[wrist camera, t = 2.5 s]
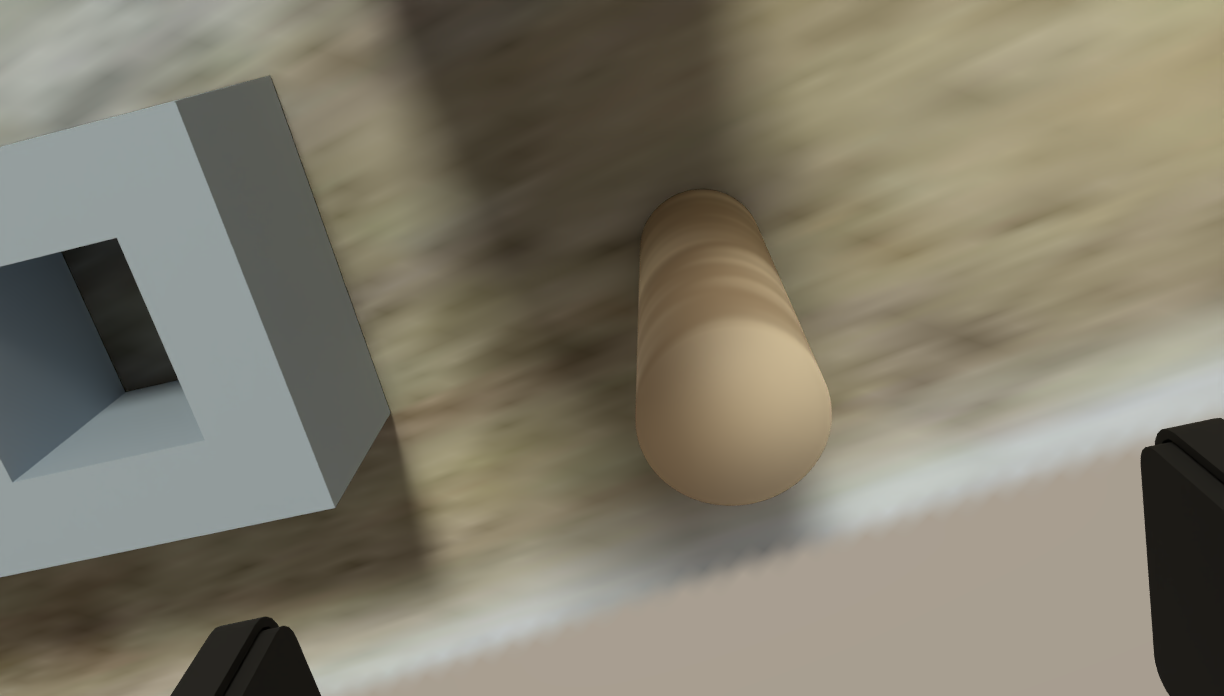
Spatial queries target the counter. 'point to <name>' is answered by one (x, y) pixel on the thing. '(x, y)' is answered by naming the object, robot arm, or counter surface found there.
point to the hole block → (174, 335)
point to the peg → (722, 358)
